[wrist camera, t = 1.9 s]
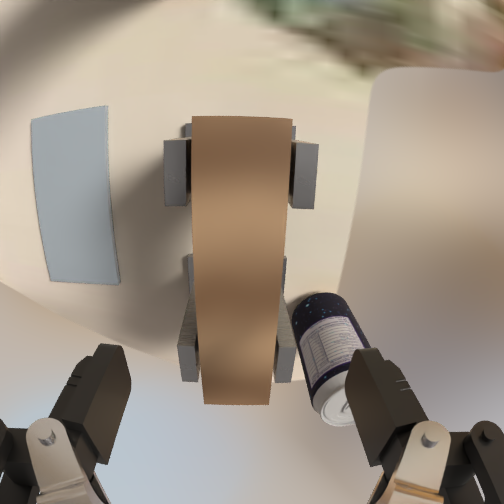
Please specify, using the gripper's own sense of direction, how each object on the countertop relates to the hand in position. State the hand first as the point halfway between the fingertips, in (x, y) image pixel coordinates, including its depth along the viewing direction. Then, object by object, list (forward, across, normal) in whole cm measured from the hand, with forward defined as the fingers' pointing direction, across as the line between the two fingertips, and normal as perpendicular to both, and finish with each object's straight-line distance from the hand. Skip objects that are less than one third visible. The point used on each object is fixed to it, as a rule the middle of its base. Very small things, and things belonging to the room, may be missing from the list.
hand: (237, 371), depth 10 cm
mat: (+17, +15, -2) cm, 23 cm away
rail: (+9, 0, 0) cm, 9 cm away
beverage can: (+17, -8, +9) cm, 21 cm away
